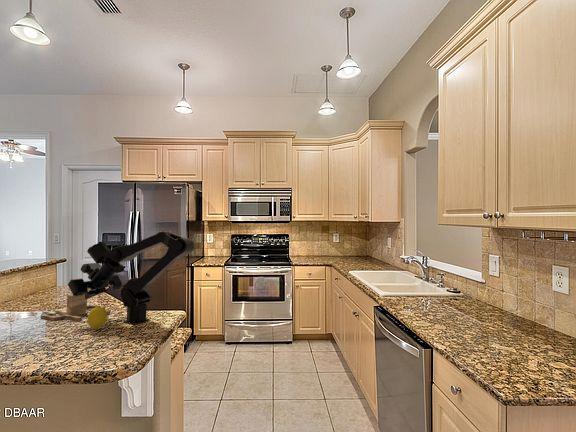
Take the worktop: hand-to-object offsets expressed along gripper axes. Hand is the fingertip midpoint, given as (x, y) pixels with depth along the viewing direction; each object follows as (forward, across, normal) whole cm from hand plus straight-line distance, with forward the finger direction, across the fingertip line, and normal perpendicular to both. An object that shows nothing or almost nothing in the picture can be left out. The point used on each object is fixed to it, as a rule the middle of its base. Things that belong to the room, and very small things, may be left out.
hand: (86, 298), depth 120 cm
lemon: (-11, +10, +20) cm, 25 cm away
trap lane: (+8, 0, +1) cm, 8 cm away
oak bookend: (+11, 0, -2) cm, 11 cm away
